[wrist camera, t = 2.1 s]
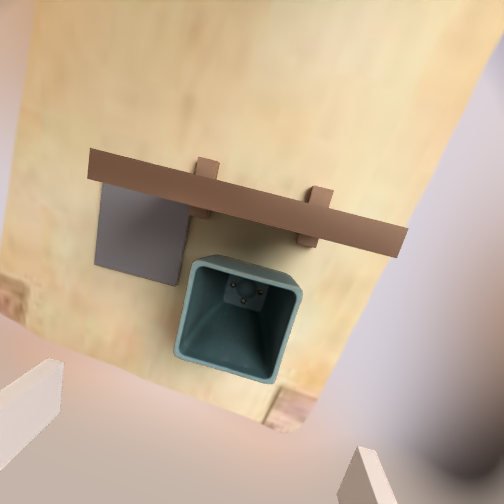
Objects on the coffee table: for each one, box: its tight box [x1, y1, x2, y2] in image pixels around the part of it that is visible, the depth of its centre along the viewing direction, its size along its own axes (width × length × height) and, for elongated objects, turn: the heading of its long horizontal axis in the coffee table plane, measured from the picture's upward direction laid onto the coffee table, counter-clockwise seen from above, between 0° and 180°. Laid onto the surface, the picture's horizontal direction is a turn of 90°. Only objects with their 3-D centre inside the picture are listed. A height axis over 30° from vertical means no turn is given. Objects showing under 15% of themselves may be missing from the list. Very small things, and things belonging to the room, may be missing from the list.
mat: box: [94, 183, 190, 286], centre depth 27 cm, size 10×10×1 cm
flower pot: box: [173, 255, 303, 384], centre depth 23 cm, size 9×9×9 cm
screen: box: [87, 148, 408, 258], centre depth 18 cm, size 6×16×14 cm, turn 76°
